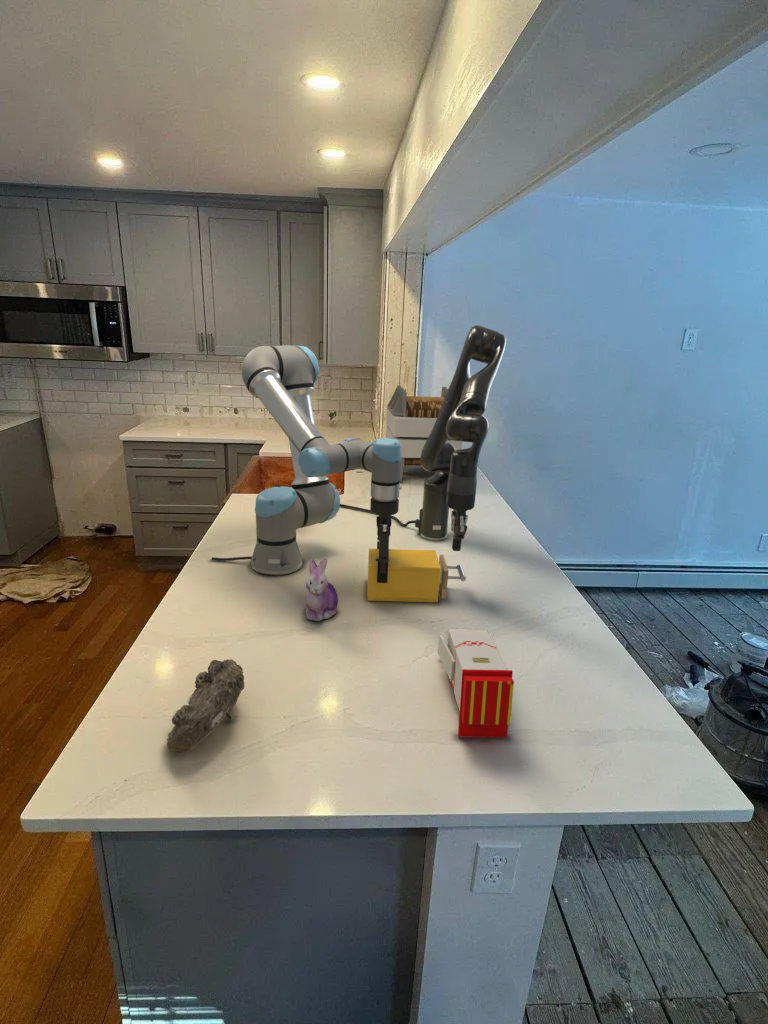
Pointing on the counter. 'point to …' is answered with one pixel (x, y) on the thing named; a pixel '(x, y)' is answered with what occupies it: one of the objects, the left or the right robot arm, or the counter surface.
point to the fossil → (206, 705)
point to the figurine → (320, 593)
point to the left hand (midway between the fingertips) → (381, 572)
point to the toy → (478, 682)
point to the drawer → (445, 577)
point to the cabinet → (405, 576)
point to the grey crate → (413, 423)
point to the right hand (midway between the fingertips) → (456, 549)
